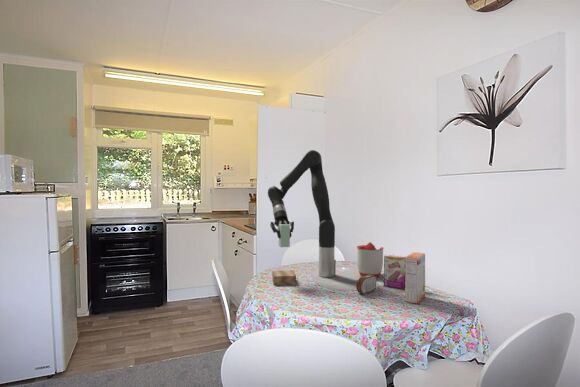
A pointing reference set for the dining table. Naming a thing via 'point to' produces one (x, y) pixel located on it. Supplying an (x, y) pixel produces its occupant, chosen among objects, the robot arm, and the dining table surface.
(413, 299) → the cracker box
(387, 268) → the candy bar box
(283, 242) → the green pillar
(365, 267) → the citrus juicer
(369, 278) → the tin
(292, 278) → the wooden block
